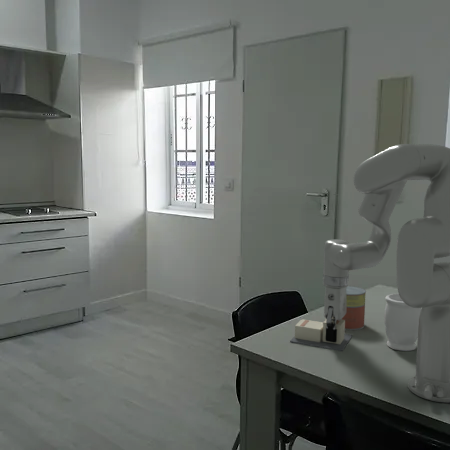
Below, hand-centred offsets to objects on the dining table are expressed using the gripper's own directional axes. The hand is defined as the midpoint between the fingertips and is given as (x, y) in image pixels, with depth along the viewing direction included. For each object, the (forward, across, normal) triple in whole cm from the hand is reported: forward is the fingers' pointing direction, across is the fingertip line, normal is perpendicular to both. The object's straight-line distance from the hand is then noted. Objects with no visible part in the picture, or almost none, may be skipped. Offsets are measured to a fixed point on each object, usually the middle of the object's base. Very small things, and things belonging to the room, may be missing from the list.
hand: (333, 337), depth 153 cm
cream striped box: (+1, 0, +7) cm, 7 cm away
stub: (+1, 0, 0) cm, 1 cm away
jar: (+1, +6, -19) cm, 20 cm away
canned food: (+2, +18, 0) cm, 19 cm away
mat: (+1, 0, +4) cm, 4 cm away
